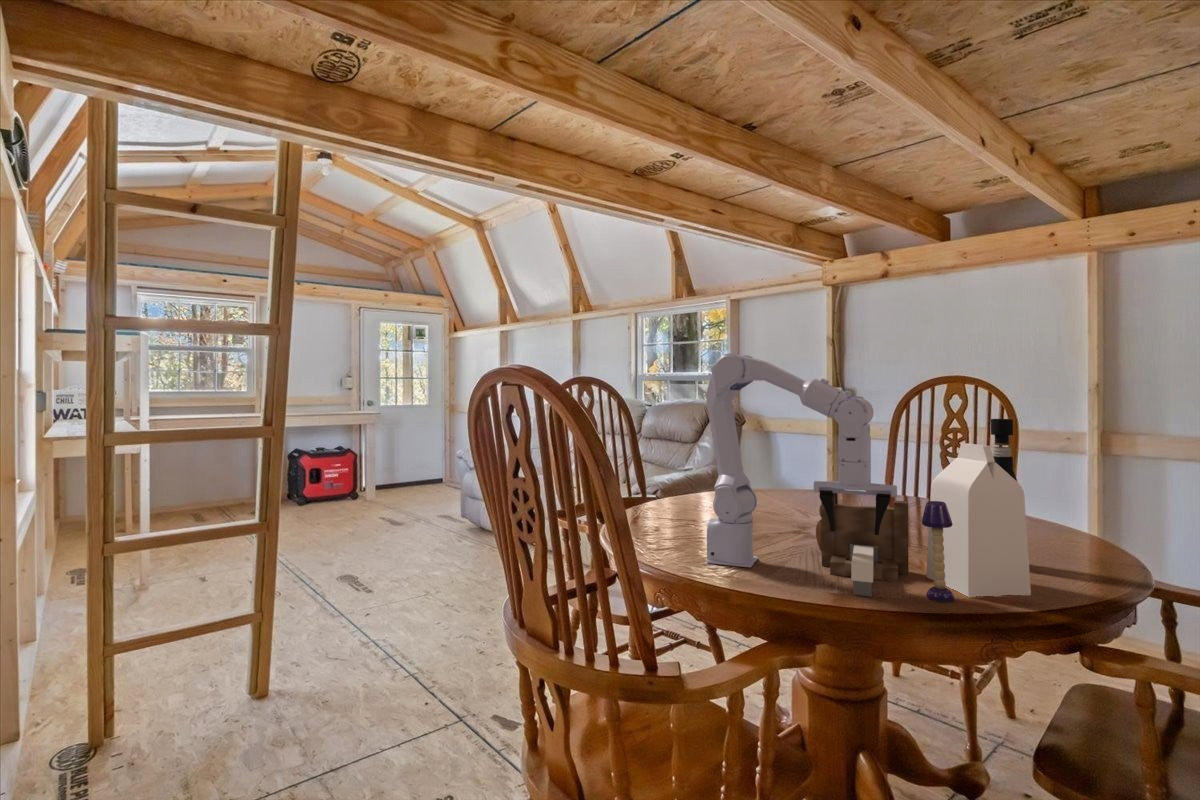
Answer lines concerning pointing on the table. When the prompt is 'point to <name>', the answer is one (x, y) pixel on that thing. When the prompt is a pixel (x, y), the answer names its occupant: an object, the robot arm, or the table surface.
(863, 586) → the beige block
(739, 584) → the table surface
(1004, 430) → the wine bottle
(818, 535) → the wooden figurine
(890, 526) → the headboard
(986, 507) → the milk
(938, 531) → the toy lamp
